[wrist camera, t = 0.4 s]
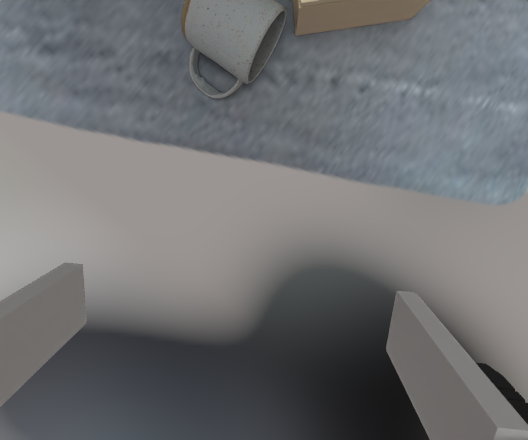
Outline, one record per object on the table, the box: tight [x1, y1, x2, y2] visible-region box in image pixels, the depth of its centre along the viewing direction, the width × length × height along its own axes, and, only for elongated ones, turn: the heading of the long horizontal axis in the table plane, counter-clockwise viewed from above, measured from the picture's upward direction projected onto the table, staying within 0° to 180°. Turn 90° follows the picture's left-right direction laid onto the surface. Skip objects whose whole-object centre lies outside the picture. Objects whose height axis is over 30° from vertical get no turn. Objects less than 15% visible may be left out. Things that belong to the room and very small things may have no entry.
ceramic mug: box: [181, 0, 287, 99], centre depth 33 cm, size 11×8×8 cm
